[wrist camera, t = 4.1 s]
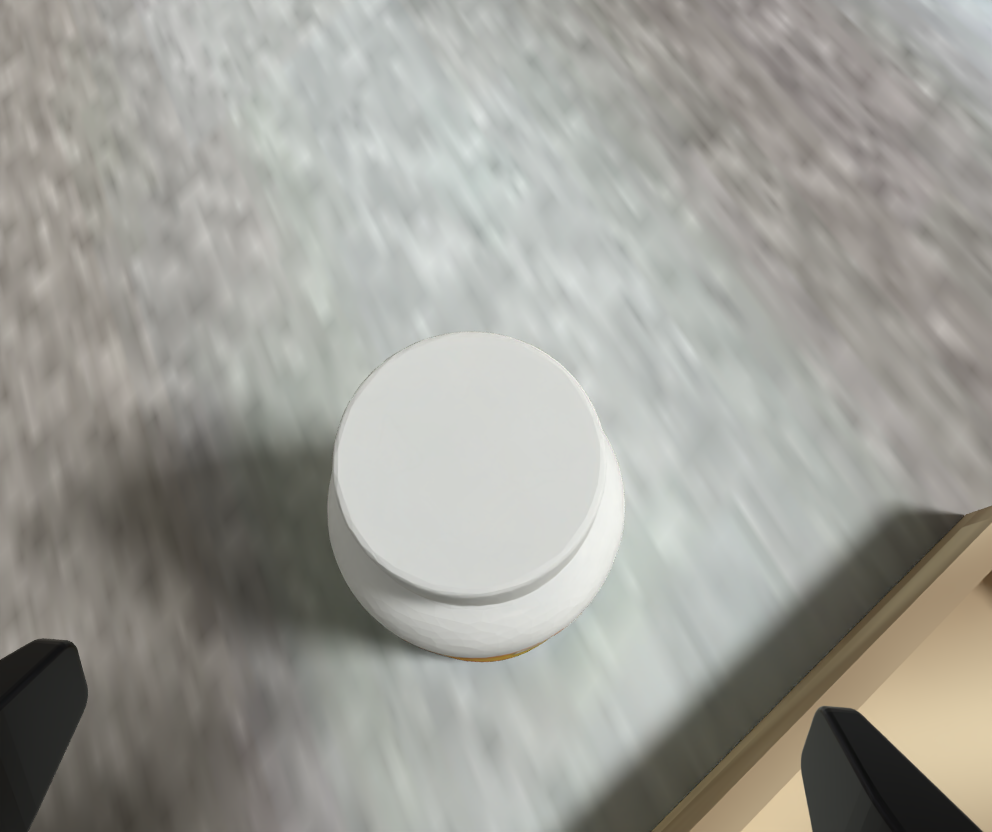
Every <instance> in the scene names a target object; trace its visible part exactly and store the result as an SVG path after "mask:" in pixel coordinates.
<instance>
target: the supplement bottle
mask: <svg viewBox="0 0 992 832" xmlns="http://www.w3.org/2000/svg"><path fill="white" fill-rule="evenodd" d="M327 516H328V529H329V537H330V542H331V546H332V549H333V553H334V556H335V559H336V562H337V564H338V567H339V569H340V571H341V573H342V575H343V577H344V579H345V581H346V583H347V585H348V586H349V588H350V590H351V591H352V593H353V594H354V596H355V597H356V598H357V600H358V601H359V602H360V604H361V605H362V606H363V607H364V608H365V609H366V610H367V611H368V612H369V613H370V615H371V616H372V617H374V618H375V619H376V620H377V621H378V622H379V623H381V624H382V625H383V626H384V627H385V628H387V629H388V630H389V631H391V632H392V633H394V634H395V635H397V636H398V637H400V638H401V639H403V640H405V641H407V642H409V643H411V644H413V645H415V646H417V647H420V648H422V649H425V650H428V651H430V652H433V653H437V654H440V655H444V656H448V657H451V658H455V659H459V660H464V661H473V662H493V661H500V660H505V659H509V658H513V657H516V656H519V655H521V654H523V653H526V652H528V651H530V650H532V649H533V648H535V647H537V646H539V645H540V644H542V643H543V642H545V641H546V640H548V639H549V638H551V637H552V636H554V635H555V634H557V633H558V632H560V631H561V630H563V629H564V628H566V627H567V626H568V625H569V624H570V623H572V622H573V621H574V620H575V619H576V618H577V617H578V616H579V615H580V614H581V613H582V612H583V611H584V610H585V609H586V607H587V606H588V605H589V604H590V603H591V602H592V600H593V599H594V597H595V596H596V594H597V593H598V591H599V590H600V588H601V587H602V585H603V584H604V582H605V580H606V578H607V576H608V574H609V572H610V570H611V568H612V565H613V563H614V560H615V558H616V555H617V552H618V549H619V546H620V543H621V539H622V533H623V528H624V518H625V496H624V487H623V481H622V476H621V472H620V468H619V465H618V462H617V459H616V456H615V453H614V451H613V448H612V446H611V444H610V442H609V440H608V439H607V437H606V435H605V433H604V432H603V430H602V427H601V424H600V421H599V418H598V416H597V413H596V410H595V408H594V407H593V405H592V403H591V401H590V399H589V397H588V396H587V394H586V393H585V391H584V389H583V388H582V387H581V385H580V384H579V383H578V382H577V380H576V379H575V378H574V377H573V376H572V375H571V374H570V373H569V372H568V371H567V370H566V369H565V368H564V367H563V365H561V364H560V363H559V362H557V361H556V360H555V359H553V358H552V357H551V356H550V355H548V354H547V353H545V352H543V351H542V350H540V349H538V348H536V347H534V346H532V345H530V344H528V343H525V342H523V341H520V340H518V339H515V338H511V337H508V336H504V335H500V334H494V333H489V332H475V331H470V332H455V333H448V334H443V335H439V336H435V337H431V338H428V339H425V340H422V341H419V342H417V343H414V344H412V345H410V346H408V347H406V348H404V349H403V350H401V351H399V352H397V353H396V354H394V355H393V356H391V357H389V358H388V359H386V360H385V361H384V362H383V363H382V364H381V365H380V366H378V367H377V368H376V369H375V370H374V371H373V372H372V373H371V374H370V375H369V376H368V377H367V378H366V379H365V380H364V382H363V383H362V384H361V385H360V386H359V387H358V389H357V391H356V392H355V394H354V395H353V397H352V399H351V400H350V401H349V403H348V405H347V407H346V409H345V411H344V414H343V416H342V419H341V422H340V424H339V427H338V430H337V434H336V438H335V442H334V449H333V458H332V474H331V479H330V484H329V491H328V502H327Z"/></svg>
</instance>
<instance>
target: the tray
mask: <svg viewBox="0 0 992 832" xmlns="http://www.w3.org/2000/svg"><path fill="white" fill-rule="evenodd" d="M821 706H833V707H845V708H852V709H855V710H856V711H858V712H860V713H861V714H862V715H863V716H864V717H865V718H866V719H867V720H868V721H869V722H870V723H871V724H872V725H873V726H874V727H875V728H877V729H878V730H879V731H880V732H881V733H882V734H883V735H884V736H885V737H886V738H887V739H888V740H889V741H890V742H891V743H892V744H893V745H894V746H895V747H896V748H897V749H898V750H899V751H900V752H901V753H902V754H903V755H905V756H906V757H907V758H908V759H909V760H910V761H911V762H912V763H913V764H914V765H915V766H916V767H917V768H918V769H919V770H920V771H921V772H922V773H923V774H924V775H925V776H926V777H927V778H928V779H929V780H930V781H931V782H932V783H934V784H935V785H936V786H937V787H938V788H939V789H940V790H941V791H942V792H943V793H944V794H945V795H946V796H947V797H948V798H949V799H950V800H951V801H952V802H953V803H954V804H955V805H956V806H957V807H958V808H959V809H960V810H962V811H963V812H964V813H965V814H966V815H967V816H968V817H969V818H970V819H971V820H972V821H973V822H974V823H975V824H976V825H977V826H978V827H979V828H980V829H981V830H982V831H983V832H992V506H990V507H987V508H984V509H981V510H978V511H975V512H972V513H969V514H966V515H965V516H964V517H963V518H962V519H961V520H960V521H959V522H958V523H957V524H956V525H955V526H954V527H953V528H952V529H951V530H950V531H949V532H948V533H947V534H946V535H945V536H944V537H943V538H942V539H941V540H940V541H939V542H938V543H937V544H936V545H935V546H934V547H933V548H932V549H931V550H930V551H929V552H928V553H927V554H926V555H925V556H924V557H923V558H922V559H921V560H920V561H919V562H918V563H917V564H916V565H915V566H914V567H913V568H912V569H911V570H910V571H909V573H908V574H907V575H906V576H905V577H904V578H903V579H902V580H901V581H900V582H899V583H898V584H897V585H896V586H895V587H894V588H893V589H892V590H891V591H890V592H889V593H888V594H887V595H886V596H885V597H884V598H883V599H882V600H881V601H880V602H879V603H878V604H877V605H876V606H875V607H874V608H873V609H872V610H871V611H870V612H869V613H868V614H867V615H866V616H865V617H864V618H863V619H862V620H861V621H860V622H859V623H858V624H857V625H856V626H855V627H854V628H853V629H852V630H851V631H850V632H849V633H848V634H847V635H846V636H845V637H844V638H843V639H842V640H841V641H840V642H839V643H838V644H837V645H836V646H835V647H834V648H833V649H832V650H831V651H830V652H829V653H828V654H827V655H826V656H825V657H824V658H823V659H822V660H821V661H820V662H819V663H818V664H817V665H816V666H815V667H814V668H813V669H812V670H811V671H810V672H809V673H808V674H807V675H806V676H805V677H804V678H803V679H802V680H801V681H800V682H799V683H798V684H797V685H796V686H795V687H794V688H793V689H792V690H791V691H790V692H789V693H788V694H787V695H786V696H785V697H784V698H783V699H782V700H781V701H780V702H779V703H778V704H777V705H776V706H775V707H774V708H773V709H772V710H771V711H770V712H769V713H768V714H767V715H766V716H765V717H764V718H763V719H762V720H761V722H760V723H759V724H758V725H757V726H756V727H755V728H754V729H753V730H752V731H751V732H750V733H749V734H748V735H747V736H746V737H745V738H744V739H743V740H742V741H741V742H740V743H739V744H738V745H737V746H736V747H735V748H734V749H733V750H732V751H731V752H730V753H729V754H728V755H727V756H726V757H725V758H724V759H723V760H722V761H721V762H720V763H719V764H718V765H717V766H716V767H715V768H714V769H713V770H712V771H711V772H710V773H709V774H708V775H707V776H706V777H705V778H704V779H703V780H702V781H701V782H700V783H699V784H698V785H697V786H696V787H695V788H694V789H693V790H692V791H691V792H690V793H689V794H688V795H687V796H686V797H685V798H684V799H683V800H682V801H681V802H680V803H679V804H678V805H677V806H676V807H675V808H674V809H673V810H672V811H671V812H670V813H669V814H668V815H667V816H666V817H665V818H664V819H663V820H662V821H661V822H660V823H659V824H658V825H657V826H656V827H655V828H654V829H653V830H652V831H651V832H813V831H812V826H811V821H810V816H809V810H808V805H807V800H806V795H805V790H804V784H803V779H802V773H801V754H802V750H803V747H804V744H805V741H806V738H807V735H808V732H809V729H810V726H811V723H812V720H813V717H814V714H815V712H816V710H817V709H818V708H819V707H821Z"/></svg>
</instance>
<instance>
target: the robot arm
mask: <svg viewBox="0 0 992 832" xmlns="http://www.w3.org/2000/svg"><path fill="white" fill-rule="evenodd" d="M87 698H88V688H87V683H86V680H85V676H84V672H83V668H82V665H81V661H80V657H79V654H78V650H77V647H76V646H75V645H74V644H73V643H72V642H70V641H68V640H56V639H44V638H43V639H37V640H34V641H32V642H30V643H28V644H27V645H25V646H23V647H21V648H20V649H18V650H16V651H15V652H13V653H11V654H9V655H8V656H6V657H4V658H2V659H1V660H0V832H28V830H29V828H30V826H31V824H32V822H33V820H34V818H35V816H36V814H37V812H38V810H39V808H40V806H41V803H42V801H43V799H44V797H45V795H46V793H47V790H48V788H49V786H50V784H51V782H52V779H53V777H54V775H55V773H56V771H57V769H58V766H59V764H60V762H61V760H62V758H63V755H64V753H65V751H66V749H67V747H68V745H69V742H70V740H71V738H72V736H73V734H74V732H75V729H76V727H77V725H78V723H79V721H80V718H81V716H82V714H83V712H84V709H85V707H86V703H87ZM801 773H802V779H803V784H804V790H805V795H806V800H807V805H808V810H809V816H810V821H811V826H812V831H813V832H983V831H982V830H981V829H980V828H979V827H978V826H977V825H976V824H975V823H974V822H973V821H972V820H971V819H970V818H969V817H968V816H967V815H966V814H965V813H964V812H963V811H962V810H960V809H959V808H958V807H957V806H956V805H955V804H954V803H953V802H952V801H951V800H950V799H949V798H948V797H947V796H946V795H945V794H944V793H943V792H942V791H941V790H940V789H939V788H938V787H937V786H936V785H935V784H934V783H932V782H931V781H930V780H929V779H928V778H927V777H926V776H925V775H924V774H923V773H922V772H921V771H920V770H919V769H918V768H917V767H916V766H915V765H914V764H913V763H912V762H911V761H910V760H909V759H908V758H907V757H906V756H905V755H903V754H902V753H901V752H900V751H899V750H898V749H897V748H896V747H895V746H894V745H893V744H892V743H891V742H890V741H889V740H888V739H887V738H886V737H885V736H884V735H883V734H882V733H881V732H880V731H879V730H878V729H877V728H875V727H874V726H873V725H872V724H871V723H870V722H869V721H868V720H867V719H866V718H865V717H864V716H863V715H862V714H861V713H860V712H858V711H856V710H855V709H852V708H845V707H833V706H821V707H819V708H818V709H817V710H816V712H815V714H814V717H813V720H812V723H811V726H810V729H809V732H808V735H807V738H806V741H805V744H804V747H803V750H802V754H801Z"/></svg>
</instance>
